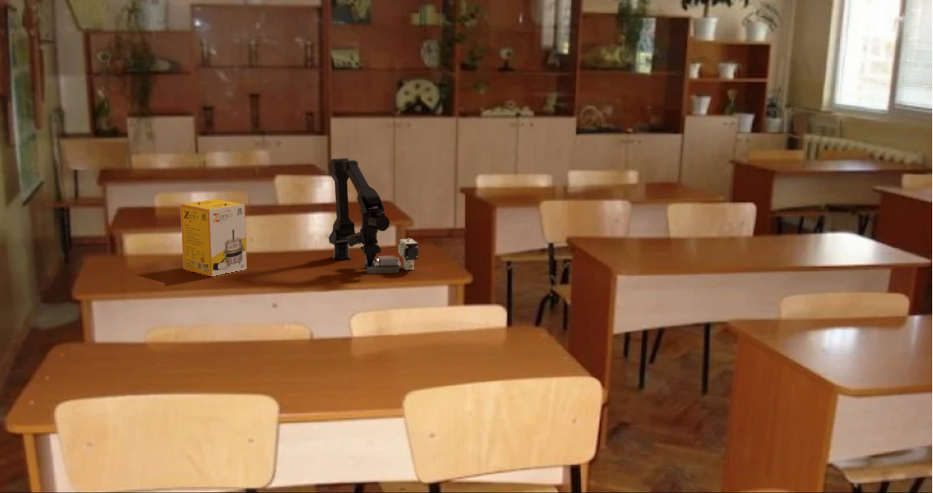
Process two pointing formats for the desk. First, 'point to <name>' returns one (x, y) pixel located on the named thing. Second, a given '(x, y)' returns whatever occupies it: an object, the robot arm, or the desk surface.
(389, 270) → the guide channel
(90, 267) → the desk surface
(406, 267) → the pneumatic valve
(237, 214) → the packaging box
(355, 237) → the robot arm
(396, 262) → the coupling
